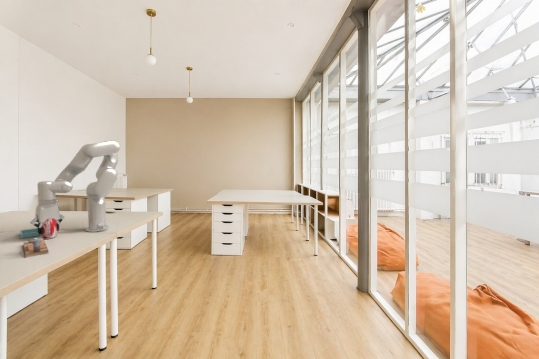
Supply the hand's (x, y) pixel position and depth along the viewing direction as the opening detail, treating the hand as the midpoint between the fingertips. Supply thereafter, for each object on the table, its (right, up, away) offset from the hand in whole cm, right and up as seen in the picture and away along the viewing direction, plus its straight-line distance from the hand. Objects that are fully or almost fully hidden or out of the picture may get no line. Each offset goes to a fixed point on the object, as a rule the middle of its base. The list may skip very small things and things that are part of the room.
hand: (48, 232), depth 146 cm
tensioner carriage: (+12, -3, -21) cm, 25 cm away
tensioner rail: (+9, -5, -18) cm, 21 cm away
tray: (-15, -3, +6) cm, 16 cm away
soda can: (0, -4, 0) cm, 4 cm away
